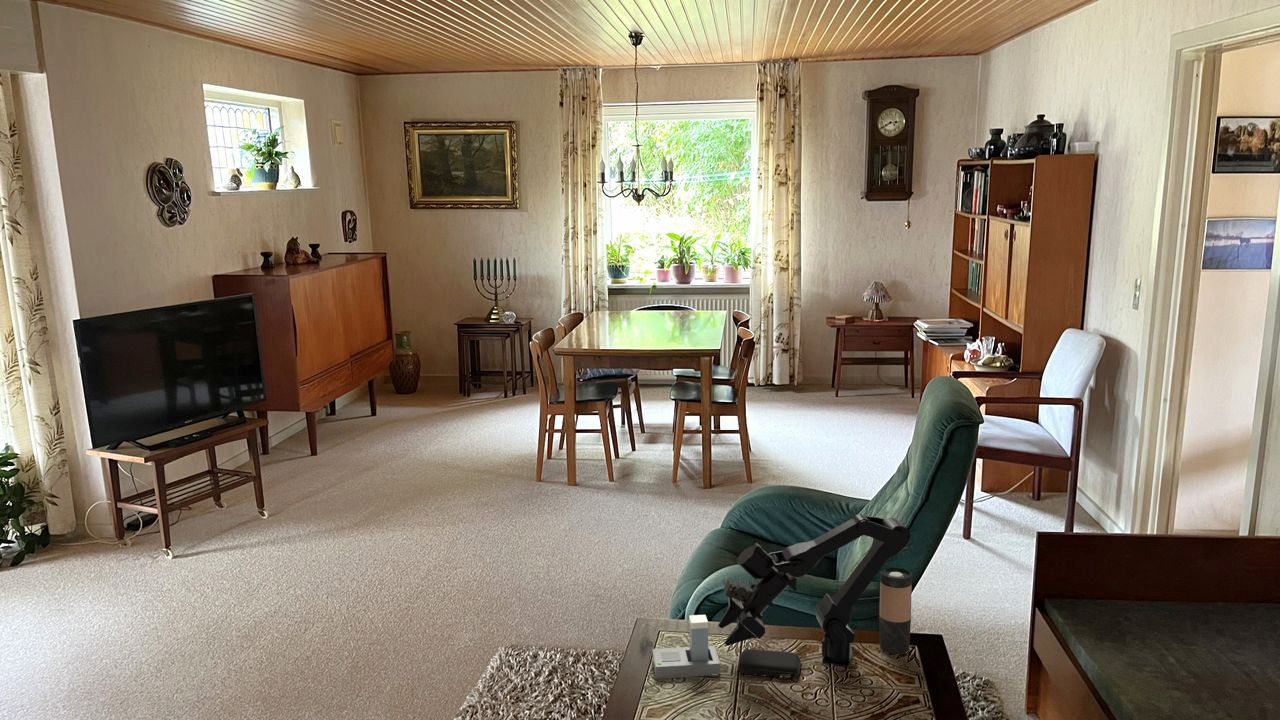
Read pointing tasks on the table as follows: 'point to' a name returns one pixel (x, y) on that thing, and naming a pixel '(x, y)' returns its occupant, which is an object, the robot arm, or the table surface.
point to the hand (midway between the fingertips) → (722, 635)
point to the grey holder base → (683, 663)
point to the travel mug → (895, 610)
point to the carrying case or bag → (769, 663)
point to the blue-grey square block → (698, 638)
